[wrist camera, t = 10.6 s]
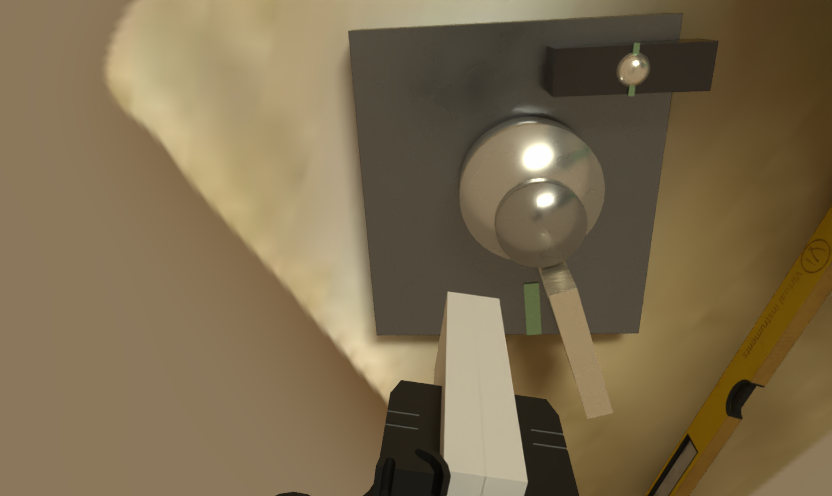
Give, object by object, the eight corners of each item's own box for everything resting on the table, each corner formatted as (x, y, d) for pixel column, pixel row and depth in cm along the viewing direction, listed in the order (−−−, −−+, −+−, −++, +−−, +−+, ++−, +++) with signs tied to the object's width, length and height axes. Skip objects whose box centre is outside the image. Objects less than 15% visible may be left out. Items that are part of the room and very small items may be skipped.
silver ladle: (440, 144, 32) (438, 172, 26) (575, 95, 30) (603, 115, 24) (521, 369, 38) (533, 431, 32) (637, 339, 36) (670, 399, 30)
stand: (687, 12, 30) (729, 12, 26) (644, 318, 38) (669, 360, 34) (354, 29, 32) (337, 33, 27) (380, 320, 40) (370, 361, 35)
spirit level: (852, 164, 33) (888, 178, 30) (872, 170, 33) (909, 184, 31) (624, 521, 47) (634, 553, 44) (638, 525, 47) (649, 557, 44)
